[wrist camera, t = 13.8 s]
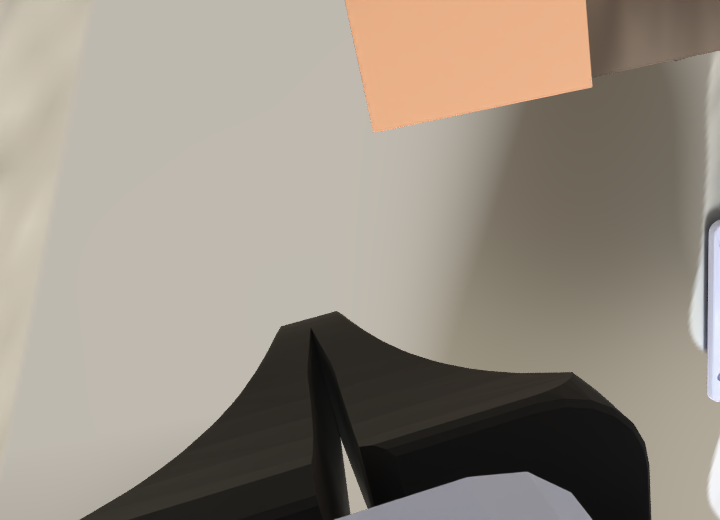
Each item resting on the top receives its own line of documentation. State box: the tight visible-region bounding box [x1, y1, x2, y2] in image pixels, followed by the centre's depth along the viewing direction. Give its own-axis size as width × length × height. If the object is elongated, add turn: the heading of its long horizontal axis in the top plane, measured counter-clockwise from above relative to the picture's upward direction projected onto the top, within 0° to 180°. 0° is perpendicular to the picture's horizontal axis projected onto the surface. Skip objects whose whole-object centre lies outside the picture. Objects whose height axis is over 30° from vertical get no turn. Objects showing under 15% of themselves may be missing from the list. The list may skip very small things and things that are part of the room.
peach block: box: [345, 0, 592, 132], centre depth 17 cm, size 5×2×7 cm
